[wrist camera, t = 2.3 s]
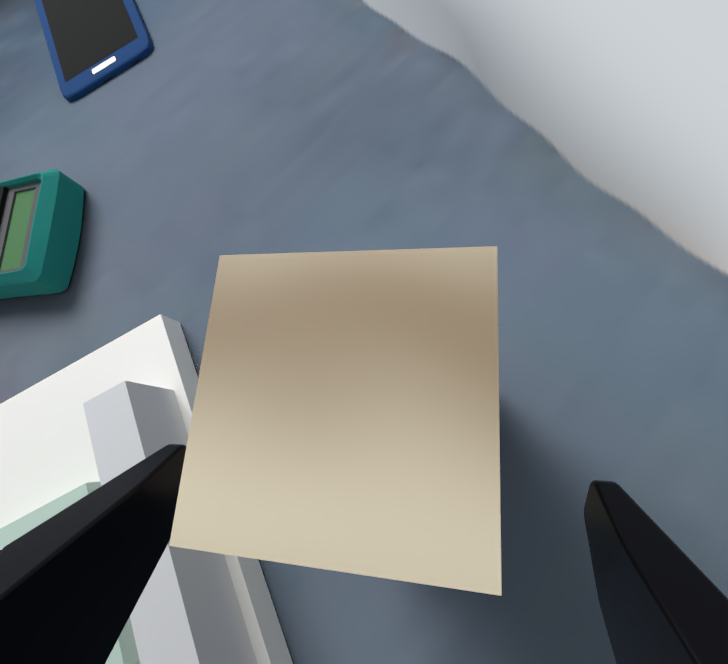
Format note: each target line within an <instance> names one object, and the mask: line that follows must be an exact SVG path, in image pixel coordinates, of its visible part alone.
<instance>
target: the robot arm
mask: <svg viewBox="0 0 728 664" xmlns="http://www.w3.org/2000/svg"><path fill="white" fill-rule="evenodd" d="M185 452H186V445H183V444H168V445H166V446H164V447H163V448H161V449H160V450H158V451H156V452H155V453H153V454H152V455H150V456H148V457H147V458H145V459H144V460H142V461H141V462H139V463H137V464H136V465H134V466H133V467H131V468H129V469H128V470H126V471H125V472H123V473H121V474H120V475H118V476H117V477H115V478H113V479H112V480H110V481H109V482H107V483H105V484H104V485H102V486H101V487H99V488H97V489H96V490H94V491H93V492H91V493H89V494H88V495H86V496H85V497H83V498H81V499H80V500H78V501H77V502H75V503H73V504H72V505H70V506H69V507H67V508H65V509H64V510H62V511H61V512H59V513H57V514H56V515H54V516H53V517H51V518H49V519H48V520H46V521H45V522H43V523H41V524H40V525H38V526H37V527H35V528H33V529H32V530H30V531H29V532H27V533H25V534H24V535H22V536H21V537H19V538H17V539H16V540H14V541H13V542H11V543H9V544H8V545H6V546H5V547H3V549H2V550H0V664H105V663H106V661H107V659H108V657H109V655H110V653H111V651H112V650H113V648H114V646H115V644H116V642H117V640H118V638H119V636H120V634H121V632H122V630H123V629H124V627H125V625H126V623H127V621H128V619H129V617H130V615H131V613H132V611H133V610H134V608H135V606H136V604H137V602H138V600H139V598H140V596H141V594H142V592H143V590H144V589H145V587H146V585H147V583H148V581H149V579H150V577H151V575H152V573H153V571H154V569H155V568H156V566H157V564H158V562H159V560H160V558H161V556H162V554H163V552H164V550H165V549H166V546H167V544H168V542H169V540H170V538H171V532H172V526H173V521H174V515H175V509H176V503H177V498H178V492H179V486H180V481H181V475H182V469H183V463H184V458H185ZM584 518H585V524H586V530H587V536H588V541H589V547H590V553H591V559H592V564H593V570H594V576H595V582H596V587H597V592H598V598H599V602H600V606H601V610H602V614H603V618H604V621H605V624H606V628H607V631H608V635H609V638H610V642H611V645H612V649H613V652H614V656H615V659H616V663H617V664H728V599H727V597H726V596H725V595H724V594H723V593H722V592H721V591H720V590H719V589H718V588H717V587H716V586H715V585H714V584H713V583H712V582H711V581H710V580H709V579H708V578H707V577H706V576H705V575H704V573H703V572H702V571H701V570H700V569H699V568H698V567H697V566H696V565H695V564H694V563H693V562H692V561H691V560H690V559H689V558H688V557H687V556H686V555H685V554H684V553H683V552H682V551H681V549H680V548H679V547H678V546H677V545H676V544H675V543H674V542H673V541H672V540H671V539H670V538H669V537H668V536H667V535H666V534H665V533H664V532H663V531H662V530H661V529H660V528H659V526H658V525H657V524H656V523H655V522H654V521H653V520H652V519H651V518H650V517H649V516H648V515H647V514H646V513H645V512H644V511H643V510H642V509H641V508H640V507H639V506H638V505H637V504H636V502H635V501H634V500H633V499H632V498H631V497H630V496H629V495H628V494H627V493H626V492H625V491H624V490H623V489H622V488H621V487H620V486H619V485H618V484H617V483H615V482H611V481H599V480H594V481H592V482H591V484H590V487H589V491H588V495H587V499H586V503H585V507H584Z"/></svg>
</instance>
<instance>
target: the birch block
mask: <svg viewBox="0 0 728 664" xmlns="http://www.w3.org/2000/svg"><path fill="white" fill-rule="evenodd" d="M169 546H173V547H180V548H187V549H193V550H200V551H207V552H213V553H220V554H227V555H233V556H240V557H246V558H253V559H260V560H266V561H273V562H280V563H286V564H293V565H300V566H306V567H313V568H320V569H326V570H333V571H340V572H346V573H353V574H360V575H366V576H373V577H380V578H386V579H393V580H399V581H406V582H413V583H419V584H426V585H433V586H439V587H446V588H453V589H459V590H466V591H473V592H479V593H486V594H493V595H499V596H502V591H501V512H500V433H499V354H498V274H497V246H492V247H461V248H431V249H400V250H370V251H339V252H309V253H278V254H248V255H220V258H219V263H218V269H217V275H216V280H215V286H214V292H213V298H212V303H211V309H210V315H209V320H208V326H207V332H206V338H205V343H204V349H203V355H202V360H201V366H200V372H199V378H198V383H197V389H196V395H195V400H194V406H193V412H192V418H191V423H190V429H189V435H188V441H187V446H186V452H185V458H184V463H183V469H182V475H181V481H180V486H179V492H178V498H177V503H176V509H175V515H174V521H173V526H172V532H171V538H170V543H169Z"/></svg>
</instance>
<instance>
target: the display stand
mask: <svg viewBox="0 0 728 664" xmlns="http://www.w3.org/2000/svg"><path fill="white" fill-rule="evenodd" d="M197 383H198V376H197V373H196V370H195V367H194V364H193V361H192V358H191V355H190V352H189V349H188V346H187V343H186V340H185V337H184V334H183V331H182V328H181V325H180V323H179V322H177V321H175V320H173V319H170V318H168V317H166V316H164V315H161V314H160V315H158V316H156V317H155V318H153V319H151V320H149V321H148V322H146V323H144V324H142V325H140V326H139V327H137V328H135V329H133V330H132V331H130V332H128V333H126V334H124V335H123V336H121V337H119V338H117V339H115V340H114V341H112V342H110V343H108V344H107V345H105V346H103V347H101V348H99V349H98V350H96V351H94V352H92V353H91V354H89V355H87V356H85V357H83V358H82V359H80V360H78V361H76V362H74V363H73V364H71V365H69V366H67V367H66V368H64V369H62V370H60V371H58V372H57V373H55V374H53V375H51V376H50V377H48V378H46V379H44V380H42V381H41V382H39V383H37V384H35V385H33V386H32V387H30V388H28V389H26V390H25V391H23V392H21V393H19V394H17V395H16V396H14V397H12V398H10V399H9V400H7V401H5V402H3V403H1V404H0V550H2V549H3V547H5V546H6V545H8V544H9V543H11V542H13V541H14V540H16V539H17V538H19V537H21V536H22V535H24V534H25V533H27V532H29V531H30V530H32V529H33V528H35V527H37V526H38V525H40V524H41V523H43V522H45V521H46V520H48V519H49V518H51V517H53V516H54V515H56V514H57V513H59V512H61V511H62V510H64V509H65V508H67V507H69V506H70V505H72V504H73V503H75V502H77V501H78V500H80V499H81V498H83V497H85V496H86V495H88V494H89V493H91V492H93V491H94V490H96V489H97V488H99V487H101V486H102V485H104V484H105V483H107V482H109V481H110V480H112V479H113V478H115V477H117V476H118V475H120V474H121V473H123V472H125V471H126V470H128V469H129V468H131V467H133V466H134V465H136V464H137V463H139V462H141V461H142V460H144V459H145V458H147V457H148V456H150V455H152V454H153V453H155V452H156V451H158V450H160V449H161V448H163V447H164V446H166V445H168V444H183V445H186V446H187V441H188V435H189V429H190V423H191V418H192V412H193V406H194V400H195V395H196V389H197ZM169 543H170V540H169V542H168V544H167V546H166V549H165V550H164V552H163V554H162V556H161V558H160V560H159V562H158V564H157V566H156V568H155V569H154V571H153V573H152V575H151V577H150V579H149V581H148V583H147V585H146V587H145V589H144V590H143V592H142V594H141V596H140V598H139V600H138V602H137V604H136V606H135V608H134V610H133V611H132V613H131V615H130V617H129V619H128V621H127V623H126V625H125V627H124V629H123V630H122V632H121V634H120V636H119V638H118V640H117V642H116V644H115V646H114V648H113V650H112V651H111V653H110V655H109V657H108V659H107V661H106V663H105V664H293V663H292V660H291V657H290V653H289V650H288V647H287V644H286V641H285V638H284V635H283V632H282V629H281V626H280V623H279V620H278V617H277V614H276V611H275V608H274V605H273V602H272V599H271V596H270V593H269V590H268V587H267V584H266V581H265V578H264V575H263V572H262V569H261V566H260V563H259V560H258V559H253V558H246V557H240V556H233V555H227V554H220V553H213V552H207V551H200V550H193V549H187V548H180V547H173V546H169Z"/></svg>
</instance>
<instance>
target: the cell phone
mask: <svg viewBox="0 0 728 664" xmlns="http://www.w3.org/2000/svg"><path fill="white" fill-rule="evenodd" d="M35 3H36V7H37V10H38V14H39V17H40V21H41V24H42V28H43V31H44V35H45V38H46V42H47V45H48V49H49V52H50V55H51V59H52V62H53V66H54V69H55V73H56V76H57V80H58V83H59V87H60V90H61V92H62V95H63V96H64V97H65V98H66V99H67V100H68V101H70V102H72V101H75V100H77V99H79V98H81V97H83V96H84V95H86V94H88V93H89V92H91V91H92V90H94V89H96V88H97V87H99V86H100V85H102V84H104V83H105V82H107V81H109V80H110V79H112V78H113V77H115V76H117V75H118V74H120V73H121V72H123V71H125V70H126V69H128V68H130V67H131V66H133V65H134V64H136V63H138V62H139V61H141V60H142V59H144V58H145V57H147V56H148V55H149V54H150V53H151V52H152V50H153V44H152V40H151V38H150V35H149V33H148V31H147V28H146V26H145V24H144V21H143V19H142V17H141V14H140V12H139V10H138V7H137V5H136V3H135V0H35Z"/></svg>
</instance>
